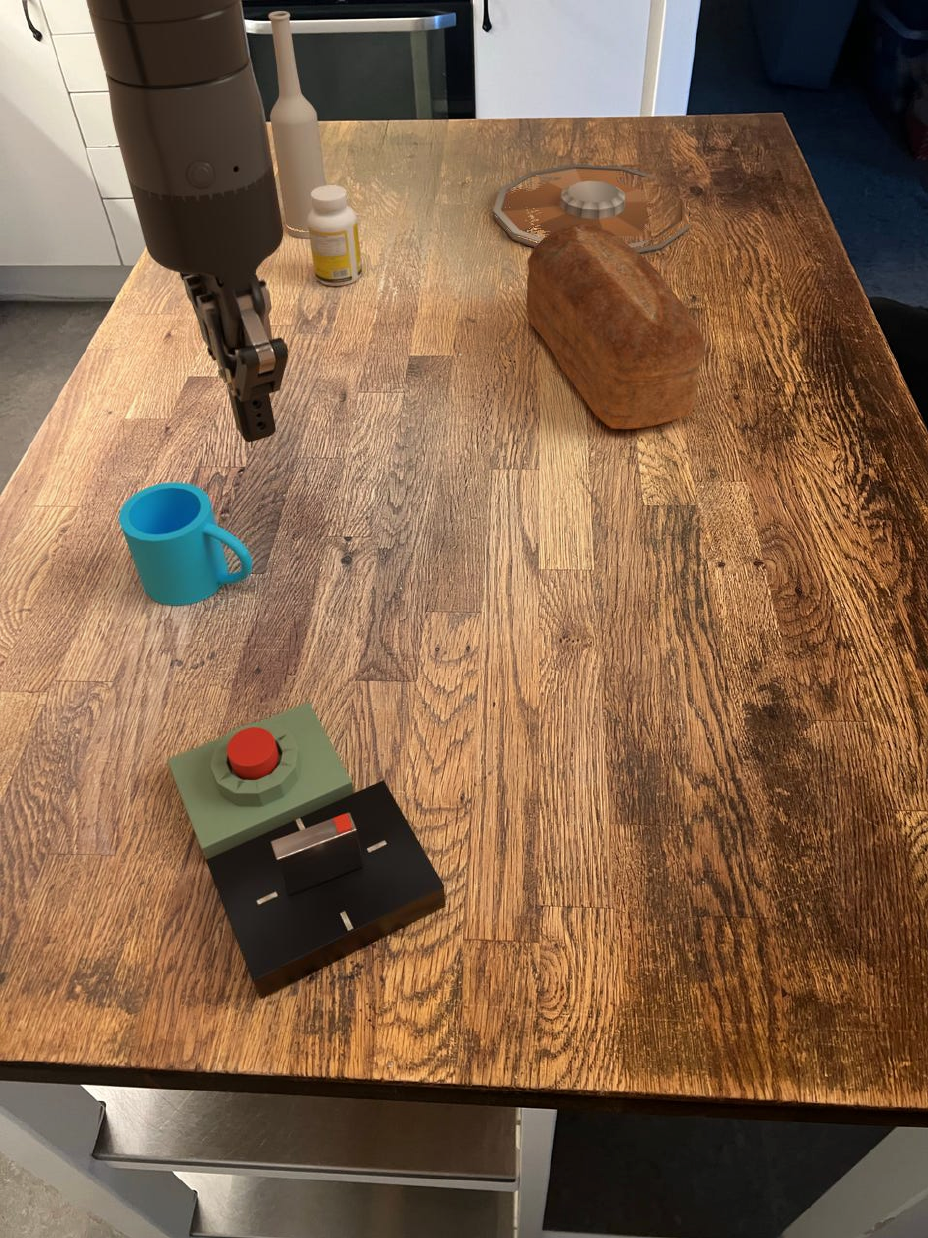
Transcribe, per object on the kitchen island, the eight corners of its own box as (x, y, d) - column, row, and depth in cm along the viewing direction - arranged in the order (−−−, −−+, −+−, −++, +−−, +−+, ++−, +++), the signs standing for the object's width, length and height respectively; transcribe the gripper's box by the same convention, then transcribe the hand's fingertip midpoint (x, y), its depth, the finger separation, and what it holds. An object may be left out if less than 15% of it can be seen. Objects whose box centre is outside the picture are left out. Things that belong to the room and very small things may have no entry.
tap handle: (288, 896, 66) (276, 858, 62) (282, 878, 67) (270, 839, 63) (363, 867, 68) (356, 827, 64) (356, 849, 69) (349, 810, 65)
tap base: (260, 1000, 64) (252, 980, 62) (214, 880, 70) (204, 858, 68) (445, 906, 69) (444, 885, 66) (386, 801, 75) (383, 778, 73)
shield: (459, 215, 138) (535, 139, 156) (460, 237, 140) (535, 160, 159) (663, 253, 129) (717, 168, 148) (659, 276, 131) (714, 189, 150)
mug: (125, 594, 91) (100, 529, 85) (170, 539, 96) (149, 474, 90) (238, 623, 88) (220, 558, 82) (278, 565, 93) (264, 500, 87)
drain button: (240, 787, 72) (235, 773, 70) (225, 752, 74) (220, 738, 73) (285, 767, 73) (282, 754, 72) (269, 733, 75) (265, 720, 74)
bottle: (278, 228, 144) (243, 13, 123) (313, 214, 147) (285, 3, 126) (304, 242, 140) (272, 24, 120) (340, 228, 143) (315, 13, 123)
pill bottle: (349, 261, 136) (340, 177, 127) (370, 279, 132) (362, 194, 124) (307, 273, 134) (295, 189, 125) (327, 292, 130) (316, 207, 121)
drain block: (207, 864, 71) (195, 836, 68) (173, 775, 77) (160, 745, 74) (355, 797, 75) (350, 768, 72) (312, 717, 81) (305, 686, 78)
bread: (606, 449, 105) (618, 338, 95) (514, 312, 125) (516, 210, 115) (707, 428, 107) (729, 318, 97) (600, 297, 128) (610, 196, 118)
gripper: (313, 189, 47) (350, 470, 60) (227, 106, 55) (275, 369, 68) (164, 224, 45) (235, 508, 58) (96, 132, 53) (172, 399, 66)
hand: (257, 432), depth 63 cm, fingers closed
